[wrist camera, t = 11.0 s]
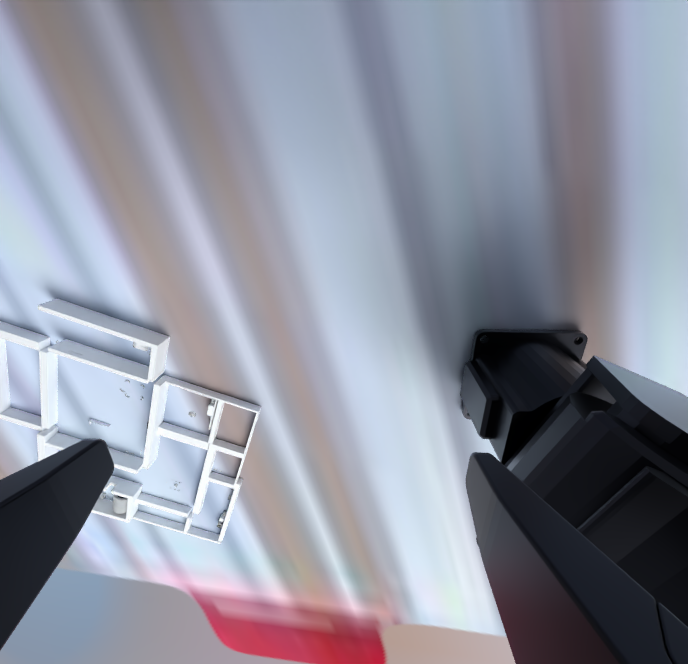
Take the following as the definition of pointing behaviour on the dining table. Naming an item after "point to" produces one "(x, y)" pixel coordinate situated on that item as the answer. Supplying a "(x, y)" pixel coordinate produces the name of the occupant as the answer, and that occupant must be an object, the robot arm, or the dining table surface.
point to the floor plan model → (156, 427)
